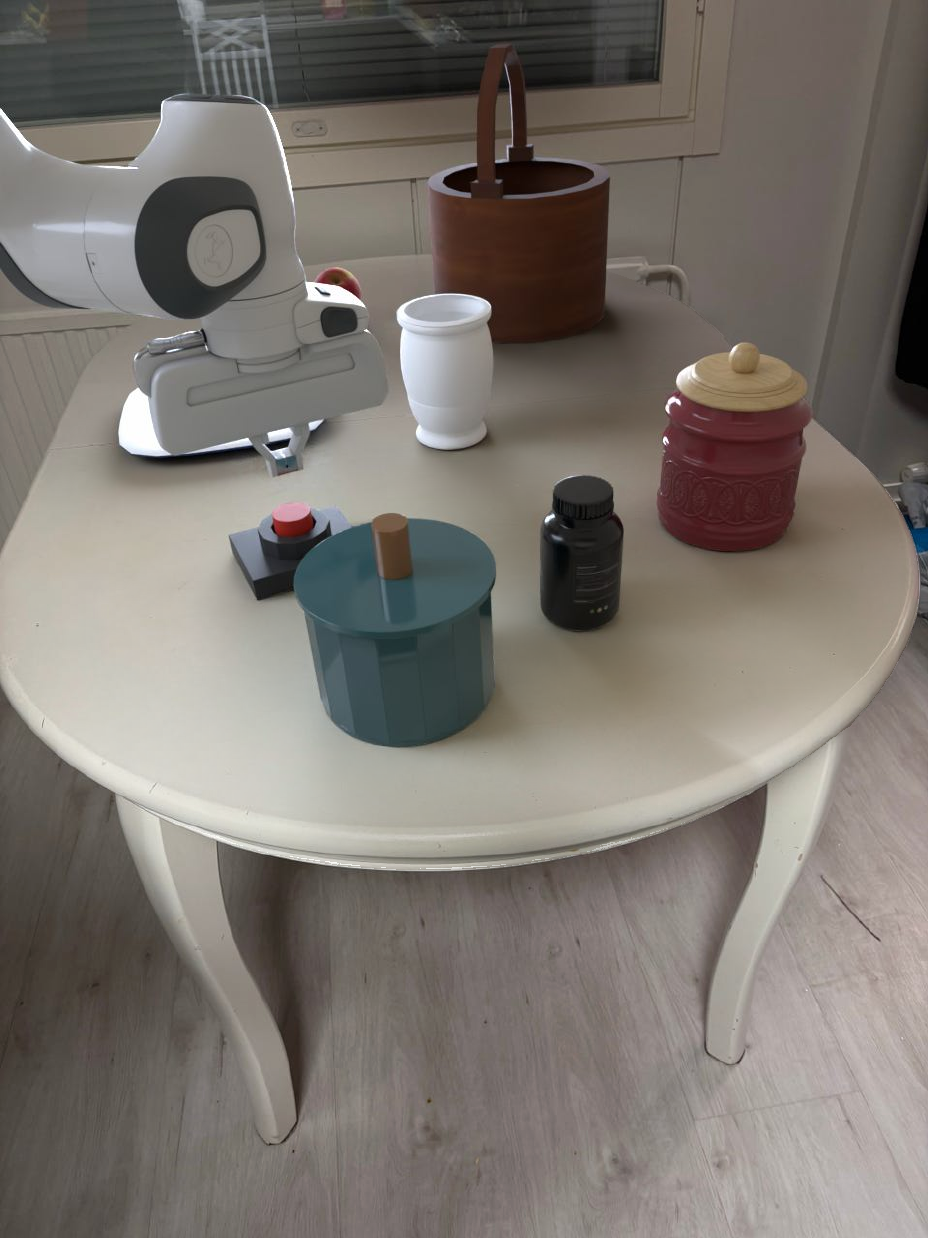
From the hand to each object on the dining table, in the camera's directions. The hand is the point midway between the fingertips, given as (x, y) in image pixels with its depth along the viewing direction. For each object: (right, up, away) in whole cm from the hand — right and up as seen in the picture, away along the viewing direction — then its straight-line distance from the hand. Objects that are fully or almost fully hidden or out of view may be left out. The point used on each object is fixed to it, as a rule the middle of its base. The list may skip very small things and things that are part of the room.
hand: (285, 471), depth 83 cm
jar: (+15, +8, +26) cm, 31 cm away
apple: (-3, +32, +60) cm, 68 cm away
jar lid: (+11, -10, -16) cm, 22 cm away
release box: (0, -8, +6) cm, 10 cm away
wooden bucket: (+25, +34, +59) cm, 72 cm away
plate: (-14, +12, +34) cm, 38 cm away
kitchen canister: (+41, -4, +8) cm, 42 cm away
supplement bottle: (+26, -13, -3) cm, 29 cm away
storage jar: (+12, -19, -10) cm, 24 cm away
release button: (0, -5, +3) cm, 6 cm away
